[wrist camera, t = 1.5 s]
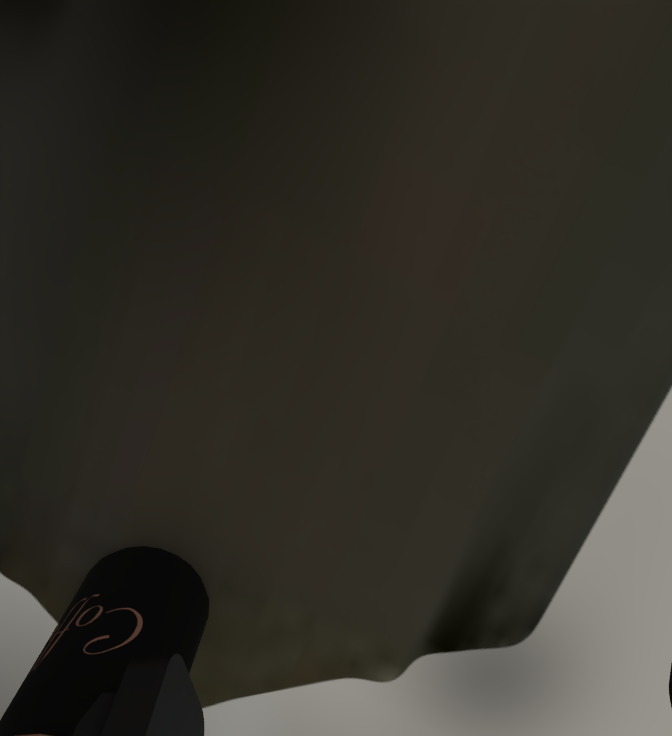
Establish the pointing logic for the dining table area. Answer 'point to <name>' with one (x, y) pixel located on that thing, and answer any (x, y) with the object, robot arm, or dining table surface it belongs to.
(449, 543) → the dining table surface
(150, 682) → the robot arm
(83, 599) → the coffee jar
